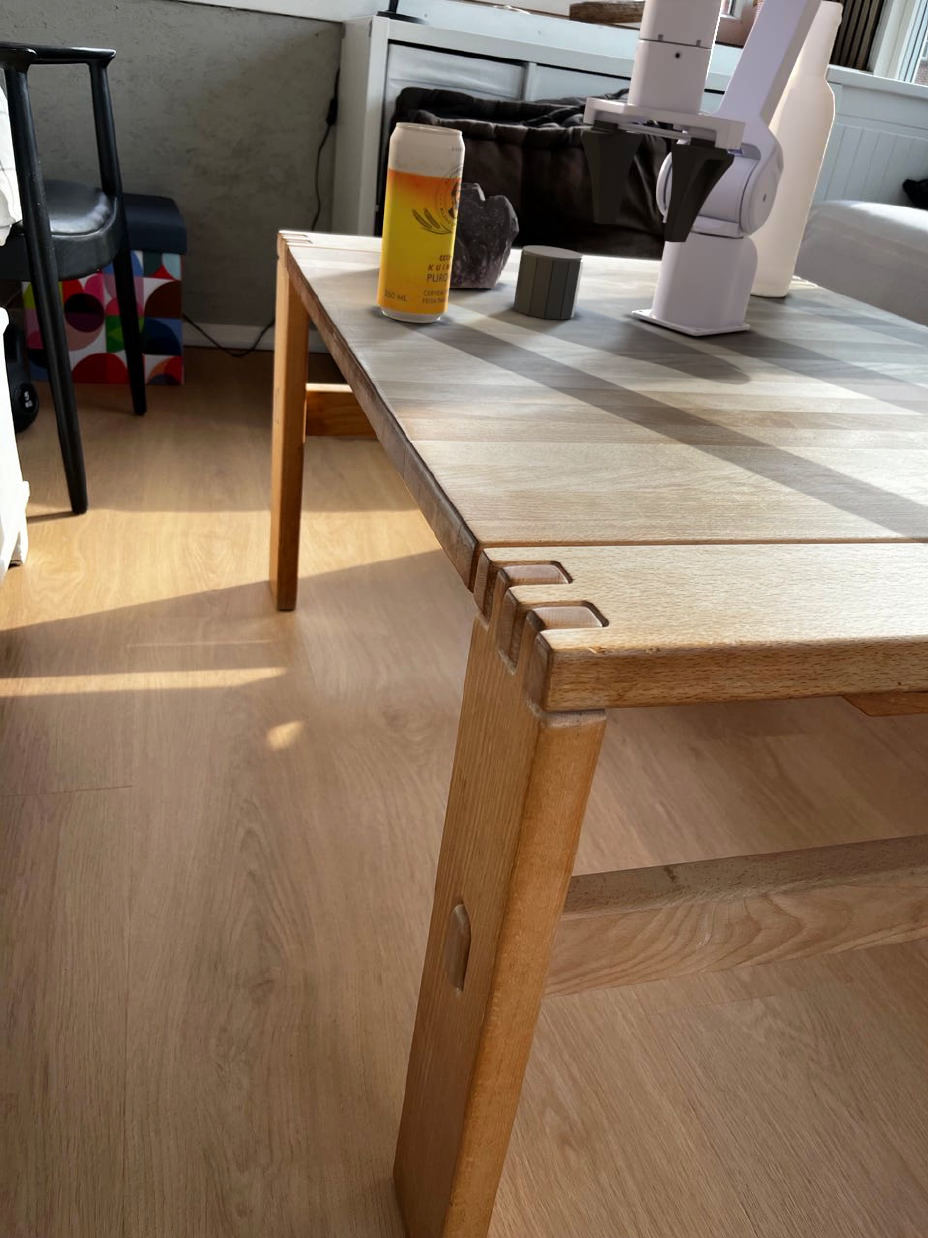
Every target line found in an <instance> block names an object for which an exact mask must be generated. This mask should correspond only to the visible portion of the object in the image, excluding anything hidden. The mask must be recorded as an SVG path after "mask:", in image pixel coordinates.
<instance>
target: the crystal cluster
mask: <svg viewBox="0 0 928 1238" xmlns="http://www.w3.org/2000/svg"><path fill="white" fill-rule="evenodd" d="M519 230H520V229H519V223H518V217H517V215H516V212H515V210H514V207H513V206H512V204H511V202H510V201H509V199H508V198H507V197H506V196H505V195H500V194H497V195H495V196H492V195H490V196H489V197H487V198H486V199H485V195H484V191H483V190H482V189H481V187H480V184H479V183H471V182H461V188H460V196H459V205H458V214H457V223H456V232H455V240H454V249H453V258H452V267H451V276H450V285H449V289H467V288H469V289H476V288H478V289H495V288H496V285H497V284H498V282H499V280H500V278H501V275H502V272H503V270H504V269H505V267H506V264H507V263H508V261H509V258H510V256H511V252H512V243H513V241H514V240H515V238H516V237H517V236H518V233H519V232H520V231H519Z"/></svg>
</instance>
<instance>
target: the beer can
mask: <svg viewBox="0 0 928 1238" xmlns="http://www.w3.org/2000/svg"><path fill="white" fill-rule="evenodd" d="M462 135H463V132H462V131H461V130H458V129H453V128H449V127H443V126H437V125H430V124H423V123H415V122H414V123H413V122H396V125H395V128H394V130H393V132H392V134H391V136H390V139H389V149H388V150H389V151H388V163H387V173H386V174H387V175H386V187H385V198H384V199H385V200H384V212H383V213H384V214H383V226H382V238H381V251H380V263H379V275H378V285H377V286H378V287H377V298H376V303H377V305H378V307H380V309H381V311H382V314H383V315H384V316H386V317H387V318H390V319H393V320H397V321H401V322H407V323H416V324H428V323H429V324H430V323H431V324H432V323H436V322H438V321H440V318H441V316H443V315H444V314H446V312H447V310H448V302H449V292H450V288H449V285H450V276H451V267H452V258H453V249H454V240H455V232H456V223H457V214H458V205H459V196H460V188H461V183H462V180H463V179H462V177H463V170H464V161H465V151H466V147H465V143H464V140H463V136H462Z"/></svg>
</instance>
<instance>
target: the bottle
mask: <svg viewBox="0 0 928 1238" xmlns="http://www.w3.org/2000/svg"><path fill="white" fill-rule="evenodd" d="M843 9H844V6H843V4H842V3H841V2H835V1H827V0H822V2H821V4H820V6H819V9H818V11H817V13H816V16H815V18H814V21H813V23H812V25H811V28H810V30H809V32H808V35H807V37H806V40H805V42H804V44H803V47H802V49H801V51H800V54H799V56H798V59H797V61H796V63H795V66H794V68H793V70H792V73H791V75H790V78H789V80H788V82H787V85H786V87H785V89H784V92H783V94H782V97H781V99H780V101H779V104H778V106H777V108H776V111H775V113H774V116H773V118H772V120H771V123H770V125H769V127H768V128H769V129H770V131H771V132H772V133H773V135H774V136H775V137H776V139H777V140H778V142H779V143H780V145H781V148H782V152H783V161H784V169H783V172H782V174H781V177H780V180H779V183H778V188H777V193H776V198H775V201H774V205H773V207H772V210H771V212H770V215H769V217H768V219H767V220H766V222H765V223H764V225H763V226H762V227H760V228H759V229H758V230H757V231H756V232H754V233H753V234H752V235H750V236H749V237H750V238H751V239H752V241H753V242H754V244H755V246H756V250H757V255H758V264H757V270H756V273H755V277H754V281H753V285H752V289H751V293H750V295H751V296H758V297H767V298H783V297H785V296H786V295H788V292H789V288H790V285H791V283H792V281H793V277H794V273H795V267H796V263H797V258H798V255H799V252H800V248H801V244H802V240H803V236H804V233H805V229H806V225H807V221H808V218H809V214H810V210H811V207H812V204H813V199H814V196H815V191H816V187H817V185H818V180H819V176H820V173H821V170H822V166H823V161H824V158H825V153H826V152H827V151H826V150H827V146H828V143H829V139H830V136H831V132H832V129H833V124H834V121H835V117H836V102H835V93H834V91H833V90H832V88H831V87H830V85H829V83H828V81H827V79H826V75H827V72H828V67H829V64H830V60H831V56H832V53H833V48H834V45H835V41H836V37H837V32H838V29H839V26H840V25H841V23H842V20H843V18H842V13H843Z"/></svg>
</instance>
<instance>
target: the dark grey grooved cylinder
mask: <svg viewBox="0 0 928 1238" xmlns="http://www.w3.org/2000/svg"><path fill="white" fill-rule="evenodd" d="M584 261H585V260H584V255H583V254H582V253H579V252H576V251H574V250H570V249H565V248H561V247H554V246H546V245H525V246H522V250H521V251H520V259H519V266H518V271H517V272H518V273H517V280H516V287H515V293H514V300H513V309H514V310H515V311H516V312H518V313H521V314H523V315H526V316H530V317H535V318H539V319H540V318H541V319H544V320H545V319H547V320H559V321H561V320H570V319H572V318H573V317H575V313H576V307H577V302H578V295H579V290H580V285H581V280H582V279H581V278H582V273H583V266H584Z"/></svg>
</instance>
